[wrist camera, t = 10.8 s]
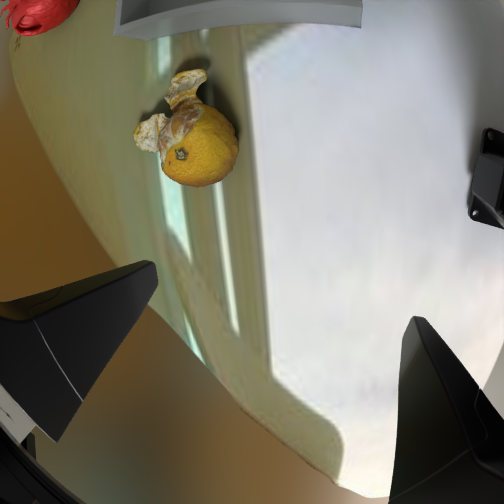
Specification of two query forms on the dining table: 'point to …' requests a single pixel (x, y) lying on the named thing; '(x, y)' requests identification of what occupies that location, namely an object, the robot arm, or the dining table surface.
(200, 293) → the dining table surface
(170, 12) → the serving bin
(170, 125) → the fruit
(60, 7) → the pomegranate
